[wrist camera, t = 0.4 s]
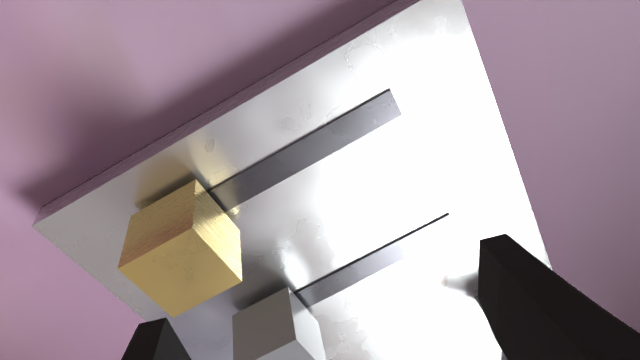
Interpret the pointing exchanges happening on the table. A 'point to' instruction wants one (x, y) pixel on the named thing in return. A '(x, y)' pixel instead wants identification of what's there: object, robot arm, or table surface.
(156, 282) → the slider brass
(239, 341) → the slider grey
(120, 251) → the panel
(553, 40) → the table surface
